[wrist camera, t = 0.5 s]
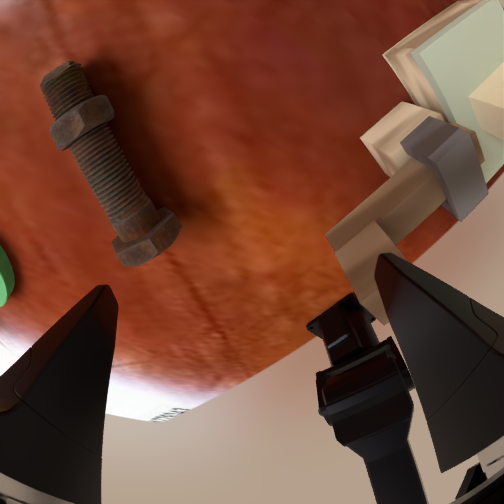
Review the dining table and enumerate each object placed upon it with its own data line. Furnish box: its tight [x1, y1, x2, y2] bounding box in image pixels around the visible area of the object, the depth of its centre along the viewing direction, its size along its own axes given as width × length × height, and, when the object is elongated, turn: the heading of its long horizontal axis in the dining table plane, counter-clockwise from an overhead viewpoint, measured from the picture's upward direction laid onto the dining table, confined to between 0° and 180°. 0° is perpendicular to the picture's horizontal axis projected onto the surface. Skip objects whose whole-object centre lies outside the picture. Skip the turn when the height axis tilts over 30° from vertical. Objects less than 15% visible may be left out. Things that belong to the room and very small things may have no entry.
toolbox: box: [360, 0, 488, 222], centre depth 14 cm, size 12×18×9 cm, turn 135°
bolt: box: [40, 61, 181, 266], centre depth 17 cm, size 6×5×15 cm
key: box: [325, 122, 485, 325], centre depth 14 cm, size 3×12×6 cm, turn 135°
